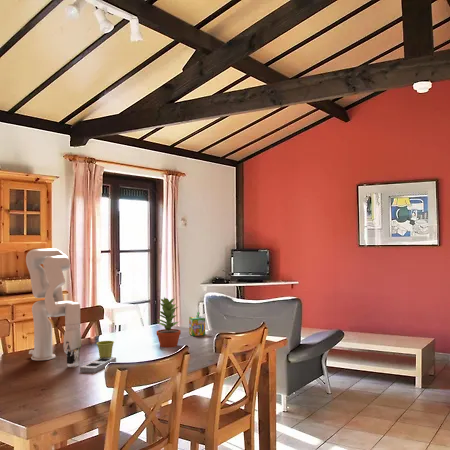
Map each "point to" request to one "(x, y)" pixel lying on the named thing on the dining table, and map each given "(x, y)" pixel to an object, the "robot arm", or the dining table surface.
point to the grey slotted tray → (97, 365)
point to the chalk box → (197, 325)
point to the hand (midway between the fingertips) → (73, 361)
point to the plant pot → (105, 348)
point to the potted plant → (168, 325)
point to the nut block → (75, 358)
